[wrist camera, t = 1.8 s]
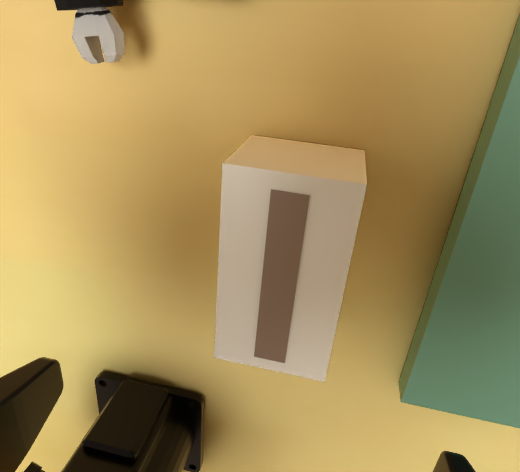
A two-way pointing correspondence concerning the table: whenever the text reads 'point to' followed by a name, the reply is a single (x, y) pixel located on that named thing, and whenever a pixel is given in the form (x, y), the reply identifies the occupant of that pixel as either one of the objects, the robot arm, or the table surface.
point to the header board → (477, 280)
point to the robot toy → (95, 29)
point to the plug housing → (285, 252)
